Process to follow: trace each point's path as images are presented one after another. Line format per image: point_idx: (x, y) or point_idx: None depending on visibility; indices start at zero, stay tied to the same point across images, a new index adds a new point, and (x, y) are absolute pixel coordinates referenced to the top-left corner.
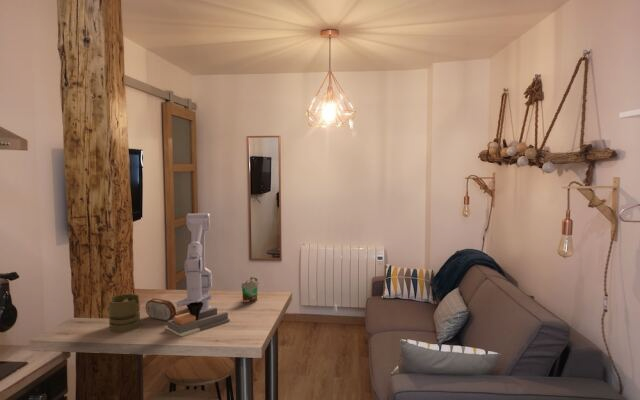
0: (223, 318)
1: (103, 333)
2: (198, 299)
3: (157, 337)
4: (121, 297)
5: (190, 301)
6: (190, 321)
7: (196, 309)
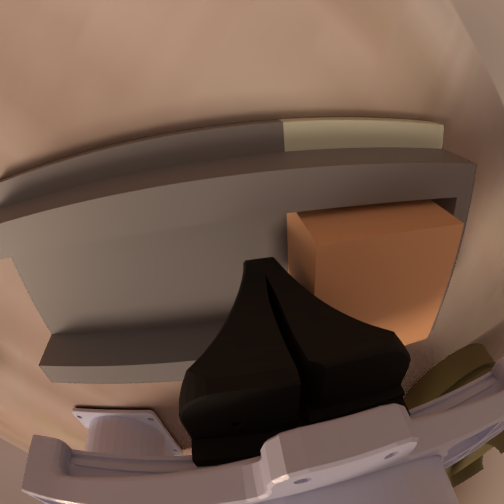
0: (16, 206)
1: (494, 354)
2: (330, 486)
3: (486, 220)
4: (459, 475)
5: (469, 426)
6: (364, 214)
7: (304, 327)
